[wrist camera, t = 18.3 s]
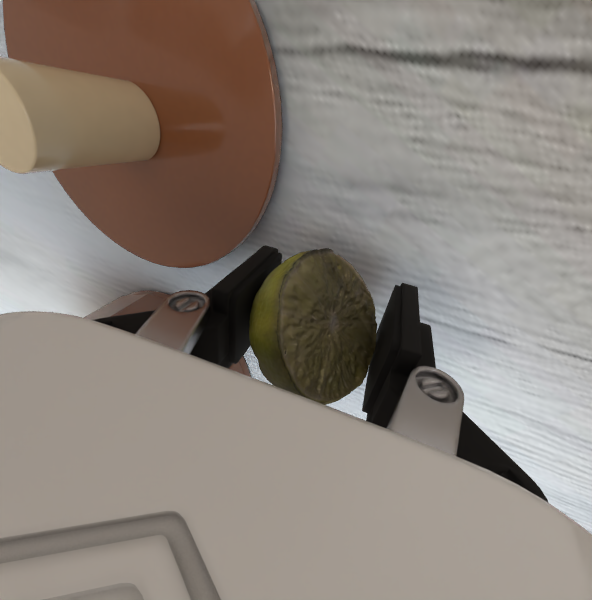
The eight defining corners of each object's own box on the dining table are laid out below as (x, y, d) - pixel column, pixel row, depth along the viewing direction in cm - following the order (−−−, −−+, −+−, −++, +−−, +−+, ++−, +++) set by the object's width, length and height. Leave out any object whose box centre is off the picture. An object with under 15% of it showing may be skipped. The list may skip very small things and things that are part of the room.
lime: (305, 218, 10) (242, 275, 6) (417, 285, 10) (424, 386, 6) (264, 301, 13) (200, 379, 9) (353, 356, 13) (329, 458, 9)
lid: (-16, -111, 11) (-383, -318, 6) (316, -115, 8) (154, -530, 3) (81, 228, 18) (-44, 264, 13) (271, 288, 15) (204, 362, 10)
